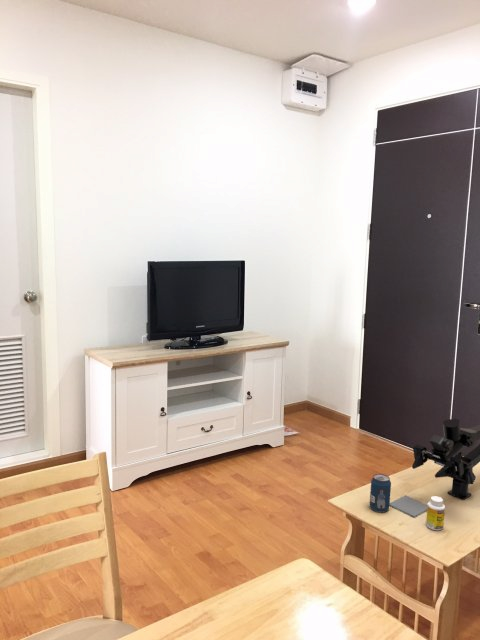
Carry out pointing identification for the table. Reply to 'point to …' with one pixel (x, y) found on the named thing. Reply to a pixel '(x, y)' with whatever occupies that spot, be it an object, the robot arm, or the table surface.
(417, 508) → the coaster
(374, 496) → the soda can
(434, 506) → the supplement bottle
